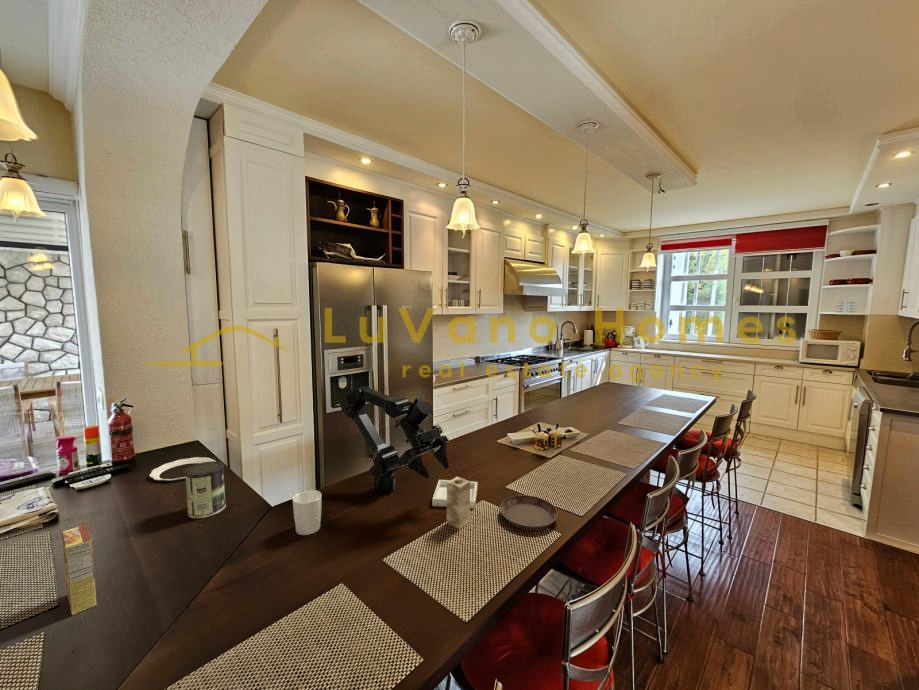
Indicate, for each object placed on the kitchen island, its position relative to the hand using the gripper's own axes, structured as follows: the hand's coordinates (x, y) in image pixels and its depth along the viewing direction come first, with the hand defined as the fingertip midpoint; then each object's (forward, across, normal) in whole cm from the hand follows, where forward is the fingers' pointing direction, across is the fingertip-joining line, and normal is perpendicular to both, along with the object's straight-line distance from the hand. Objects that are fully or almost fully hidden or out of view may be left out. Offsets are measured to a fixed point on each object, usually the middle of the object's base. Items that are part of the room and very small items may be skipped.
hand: (438, 473), depth 121 cm
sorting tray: (+8, +12, +11) cm, 18 cm away
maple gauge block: (+15, 0, +4) cm, 16 cm away
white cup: (-8, -30, +27) cm, 41 cm away
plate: (-59, -38, +80) cm, 107 cm away
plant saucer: (+26, +16, -7) cm, 31 cm away
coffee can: (-32, -44, +52) cm, 75 cm away
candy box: (-18, -76, +37) cm, 86 cm away
